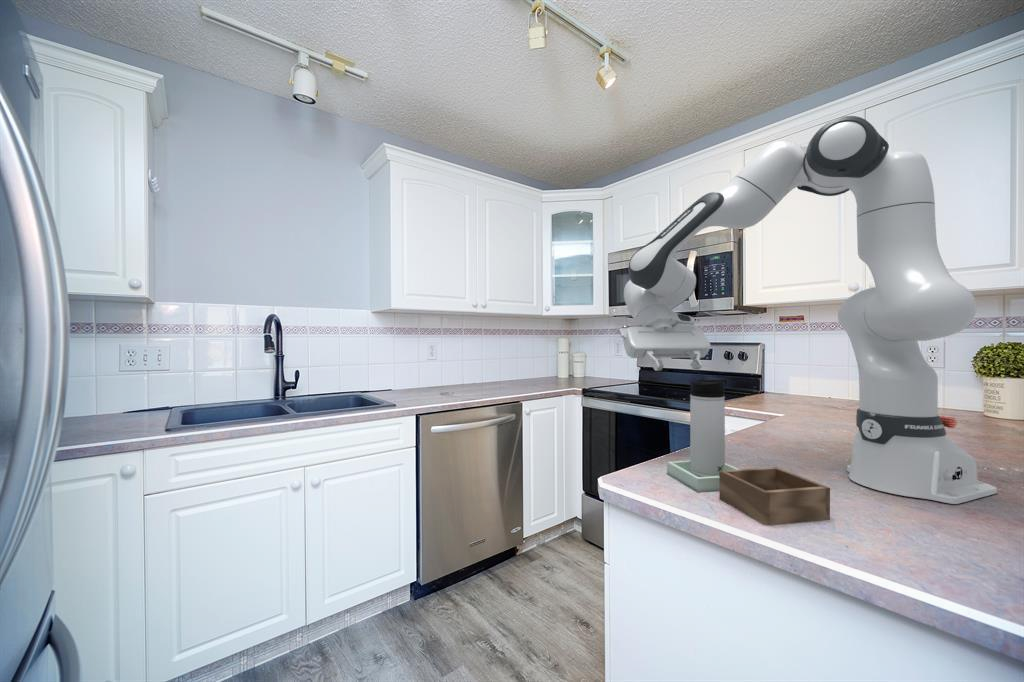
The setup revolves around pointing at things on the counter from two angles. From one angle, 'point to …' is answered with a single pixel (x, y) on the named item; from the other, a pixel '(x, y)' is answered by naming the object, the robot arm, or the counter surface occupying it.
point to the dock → (694, 476)
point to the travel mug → (707, 427)
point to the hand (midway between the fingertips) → (678, 368)
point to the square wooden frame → (774, 495)
